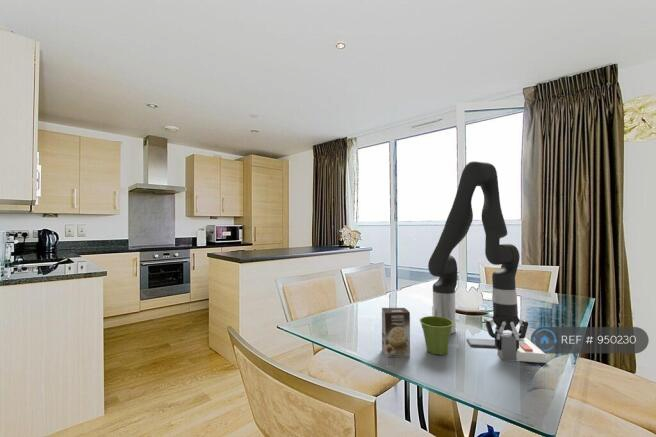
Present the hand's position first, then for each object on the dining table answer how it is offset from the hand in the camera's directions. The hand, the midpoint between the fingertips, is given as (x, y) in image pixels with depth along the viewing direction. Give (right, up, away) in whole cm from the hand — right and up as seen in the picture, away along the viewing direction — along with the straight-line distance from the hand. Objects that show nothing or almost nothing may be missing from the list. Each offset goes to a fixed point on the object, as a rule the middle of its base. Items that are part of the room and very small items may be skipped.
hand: (507, 349), depth 105 cm
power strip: (+8, -3, +6) cm, 10 cm away
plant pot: (-23, -4, +6) cm, 24 cm away
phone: (-2, -3, +12) cm, 12 cm away
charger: (0, -3, 0) cm, 3 cm away
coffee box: (-38, -4, +5) cm, 39 cm away
